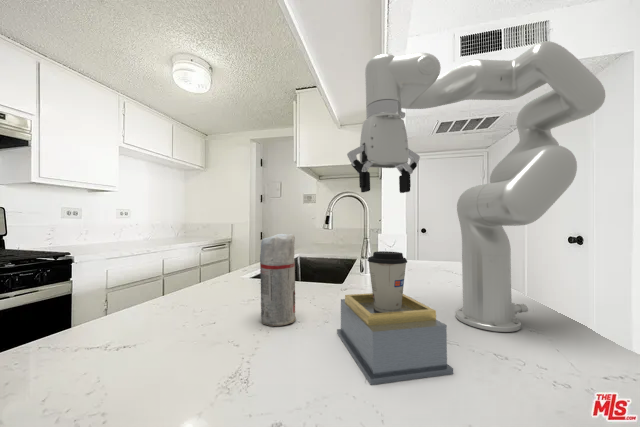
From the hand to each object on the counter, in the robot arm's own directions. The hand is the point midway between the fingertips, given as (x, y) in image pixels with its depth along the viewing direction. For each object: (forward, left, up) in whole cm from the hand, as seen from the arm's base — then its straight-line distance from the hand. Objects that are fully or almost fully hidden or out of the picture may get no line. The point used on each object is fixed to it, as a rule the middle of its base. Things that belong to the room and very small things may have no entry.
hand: (385, 191), depth 57 cm
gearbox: (+5, +9, -29) cm, 31 cm away
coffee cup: (+4, +9, -22) cm, 25 cm away
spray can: (+23, -9, -30) cm, 38 cm away
